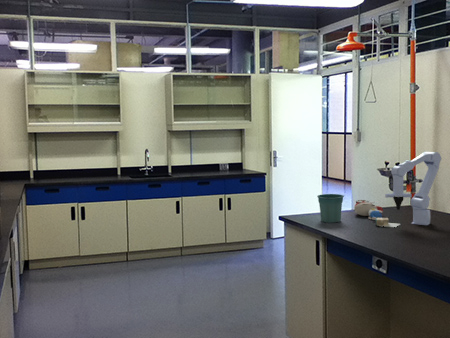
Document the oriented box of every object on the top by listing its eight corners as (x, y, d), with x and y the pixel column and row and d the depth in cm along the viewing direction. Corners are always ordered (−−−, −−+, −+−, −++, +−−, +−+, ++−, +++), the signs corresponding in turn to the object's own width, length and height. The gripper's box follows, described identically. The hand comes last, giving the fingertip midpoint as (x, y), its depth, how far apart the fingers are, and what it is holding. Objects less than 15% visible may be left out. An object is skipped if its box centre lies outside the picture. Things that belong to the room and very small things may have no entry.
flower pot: (333, 224, 307) (333, 198, 305) (312, 221, 319) (311, 196, 318) (349, 220, 318) (349, 195, 316) (327, 217, 330) (327, 193, 329)
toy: (362, 210, 311) (352, 197, 341) (360, 225, 313) (350, 212, 343) (392, 212, 311) (379, 199, 340) (390, 228, 313) (377, 213, 342)
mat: (400, 224, 302) (400, 223, 302) (395, 227, 294) (395, 226, 294) (383, 223, 308) (383, 222, 307) (378, 226, 299) (378, 225, 299)
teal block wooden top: (388, 218, 303) (376, 217, 305) (388, 219, 297) (375, 219, 299) (388, 223, 303) (376, 223, 305) (388, 225, 297) (375, 225, 300)
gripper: (409, 185, 298) (409, 208, 300) (384, 185, 301) (384, 208, 302) (412, 187, 292) (412, 210, 293) (386, 187, 294) (386, 210, 295)
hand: (398, 209), depth 297 cm, fingers closed
